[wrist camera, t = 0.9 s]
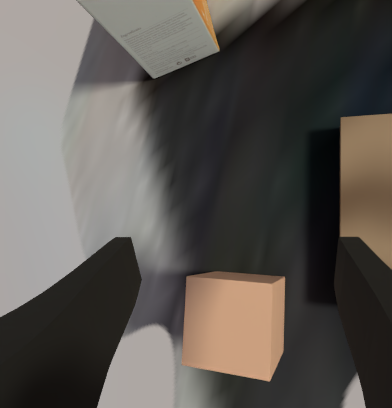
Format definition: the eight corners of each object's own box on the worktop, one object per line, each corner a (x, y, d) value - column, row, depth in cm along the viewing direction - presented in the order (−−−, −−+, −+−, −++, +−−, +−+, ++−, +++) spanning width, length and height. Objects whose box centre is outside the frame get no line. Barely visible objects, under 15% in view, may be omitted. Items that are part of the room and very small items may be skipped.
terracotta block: (283, 351, 24) (270, 381, 18) (213, 340, 26) (181, 364, 20) (285, 276, 24) (272, 283, 19) (216, 271, 26) (186, 276, 21)
